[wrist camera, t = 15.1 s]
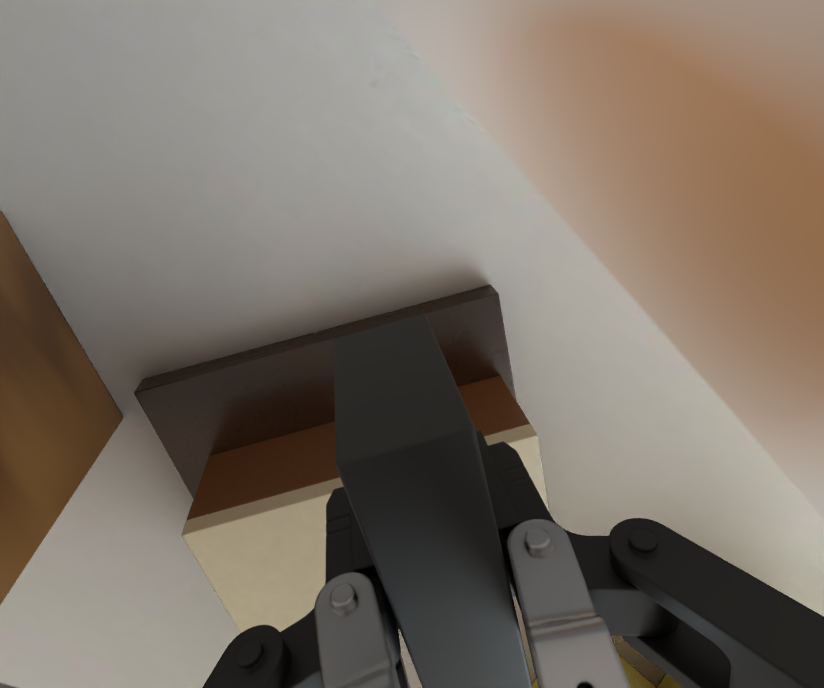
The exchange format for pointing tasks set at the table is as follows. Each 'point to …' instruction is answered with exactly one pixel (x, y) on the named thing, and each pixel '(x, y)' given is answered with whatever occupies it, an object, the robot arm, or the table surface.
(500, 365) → the board
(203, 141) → the table surface
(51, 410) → the stand
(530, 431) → the slice
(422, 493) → the knife
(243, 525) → the cream-faced brown block
